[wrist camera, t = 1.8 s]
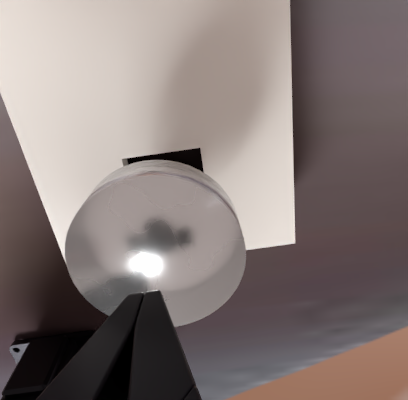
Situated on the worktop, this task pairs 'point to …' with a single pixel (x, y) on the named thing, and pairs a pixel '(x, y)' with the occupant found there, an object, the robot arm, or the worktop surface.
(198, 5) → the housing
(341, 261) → the worktop surface
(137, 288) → the plug
